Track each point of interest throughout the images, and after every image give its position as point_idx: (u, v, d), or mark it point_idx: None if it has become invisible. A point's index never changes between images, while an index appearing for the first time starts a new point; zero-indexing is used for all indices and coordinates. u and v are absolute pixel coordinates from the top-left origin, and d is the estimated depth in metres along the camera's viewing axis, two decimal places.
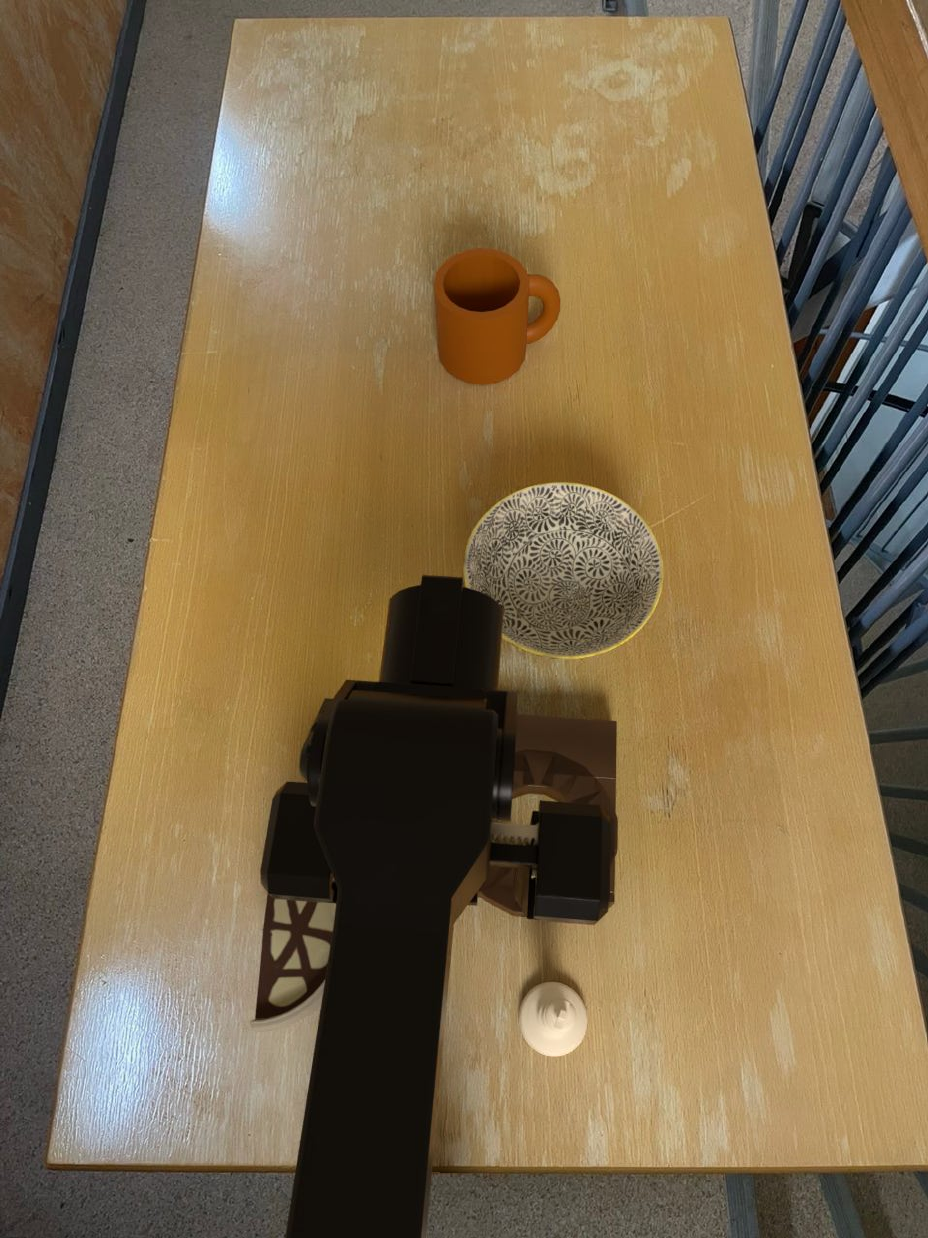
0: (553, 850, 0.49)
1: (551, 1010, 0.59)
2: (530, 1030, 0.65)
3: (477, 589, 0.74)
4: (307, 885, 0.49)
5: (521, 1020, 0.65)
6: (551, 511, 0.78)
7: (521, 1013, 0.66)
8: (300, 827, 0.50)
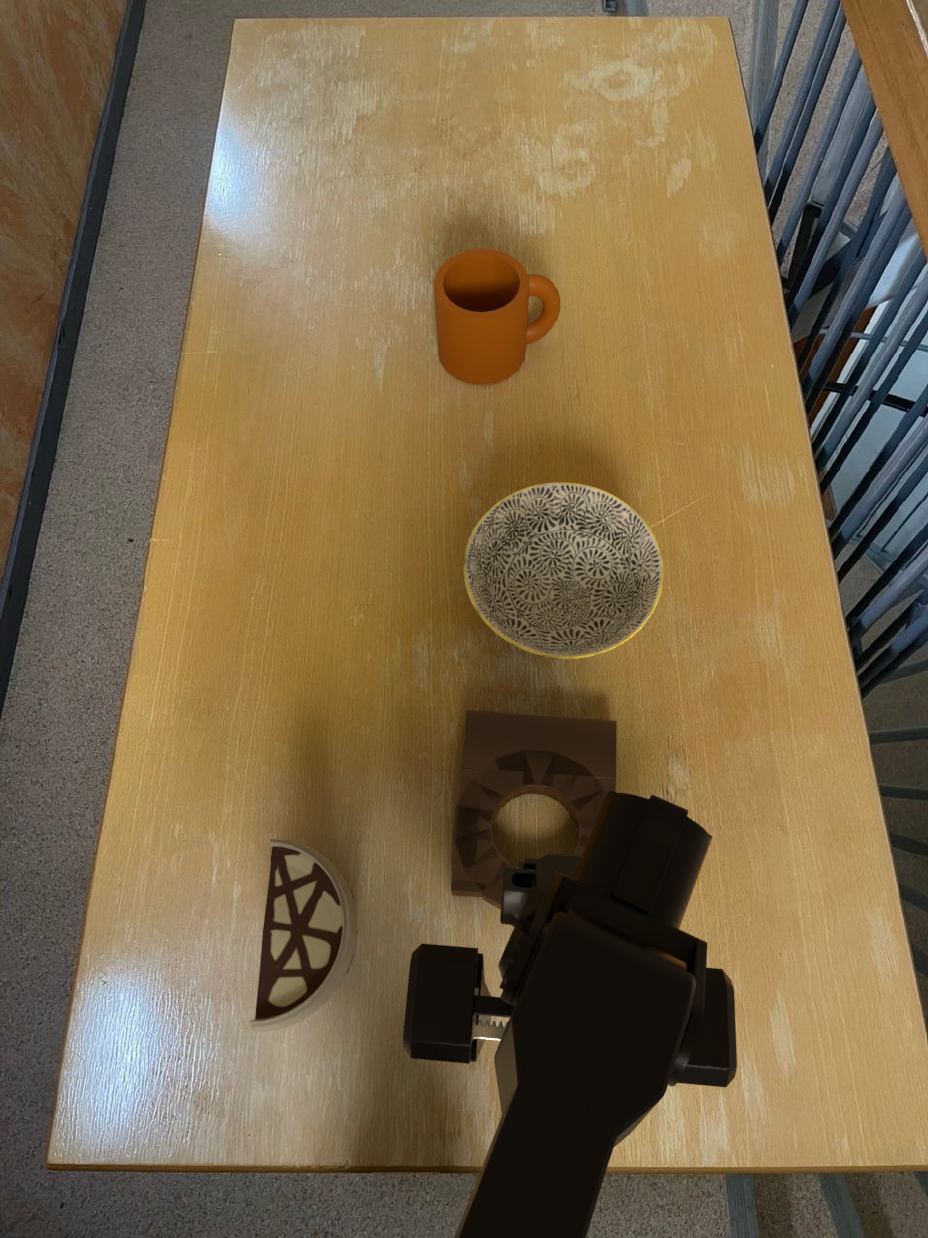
0: None
1: None
2: None
3: (477, 589, 0.74)
4: (449, 1051, 0.51)
5: None
6: (551, 511, 0.78)
7: None
8: (440, 993, 0.52)
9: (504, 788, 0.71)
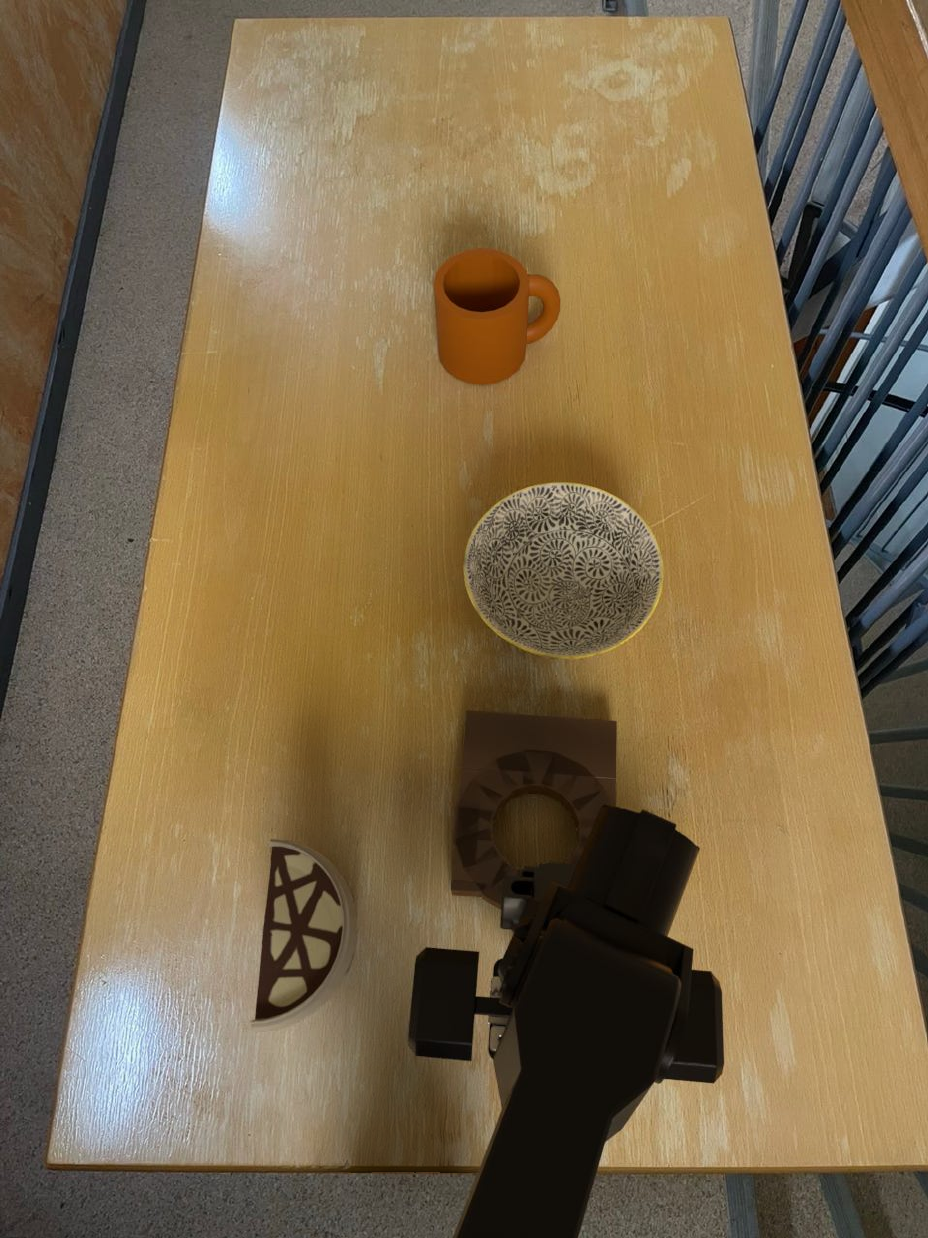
0: None
1: None
2: None
3: (477, 589, 0.74)
4: (451, 1049, 0.54)
5: None
6: (551, 511, 0.78)
7: None
8: (443, 994, 0.55)
9: (504, 788, 0.71)
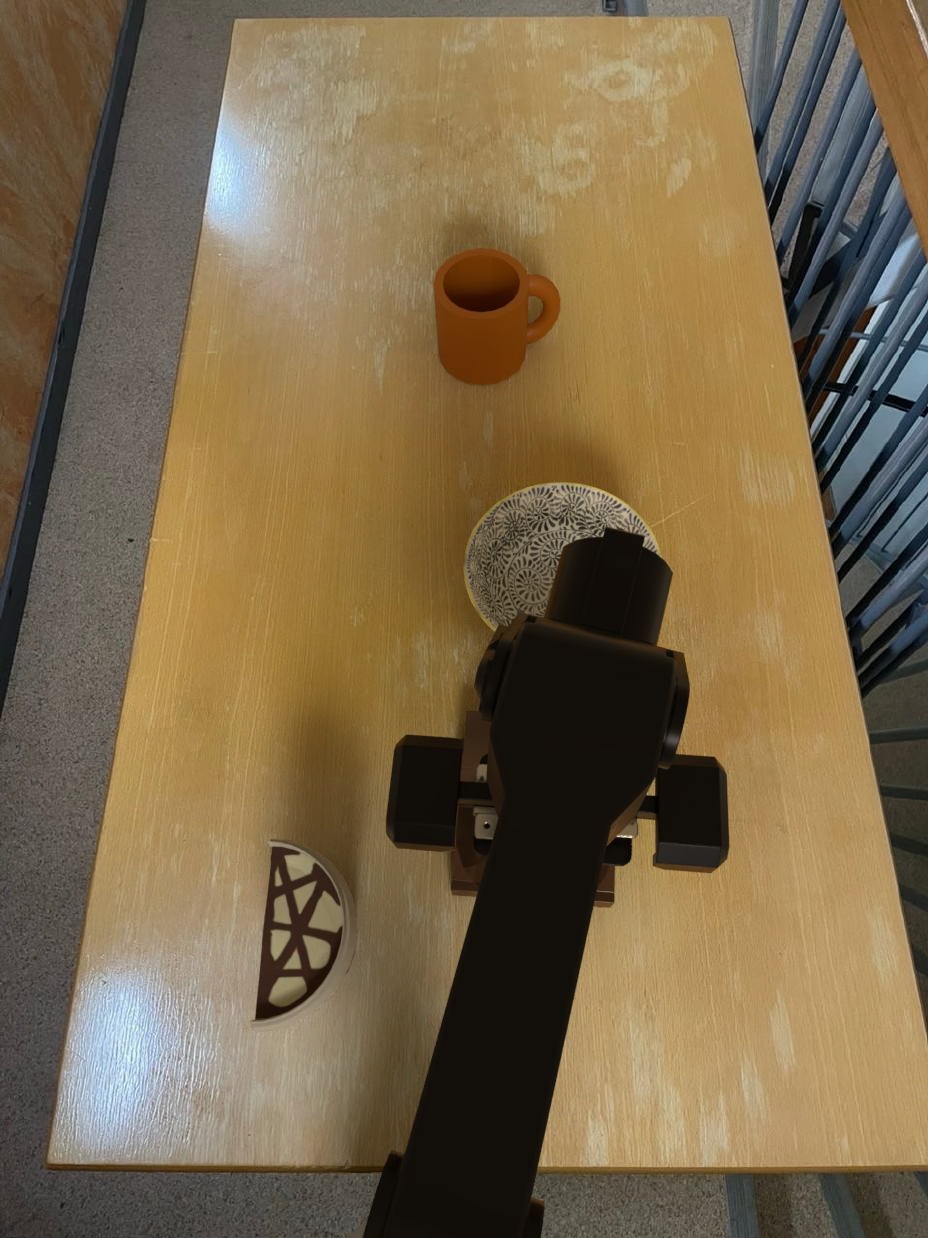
0: (673, 799, 0.50)
1: None
2: None
3: (477, 589, 0.74)
4: (433, 833, 0.50)
5: None
6: (551, 511, 0.78)
7: None
8: (424, 777, 0.51)
9: None
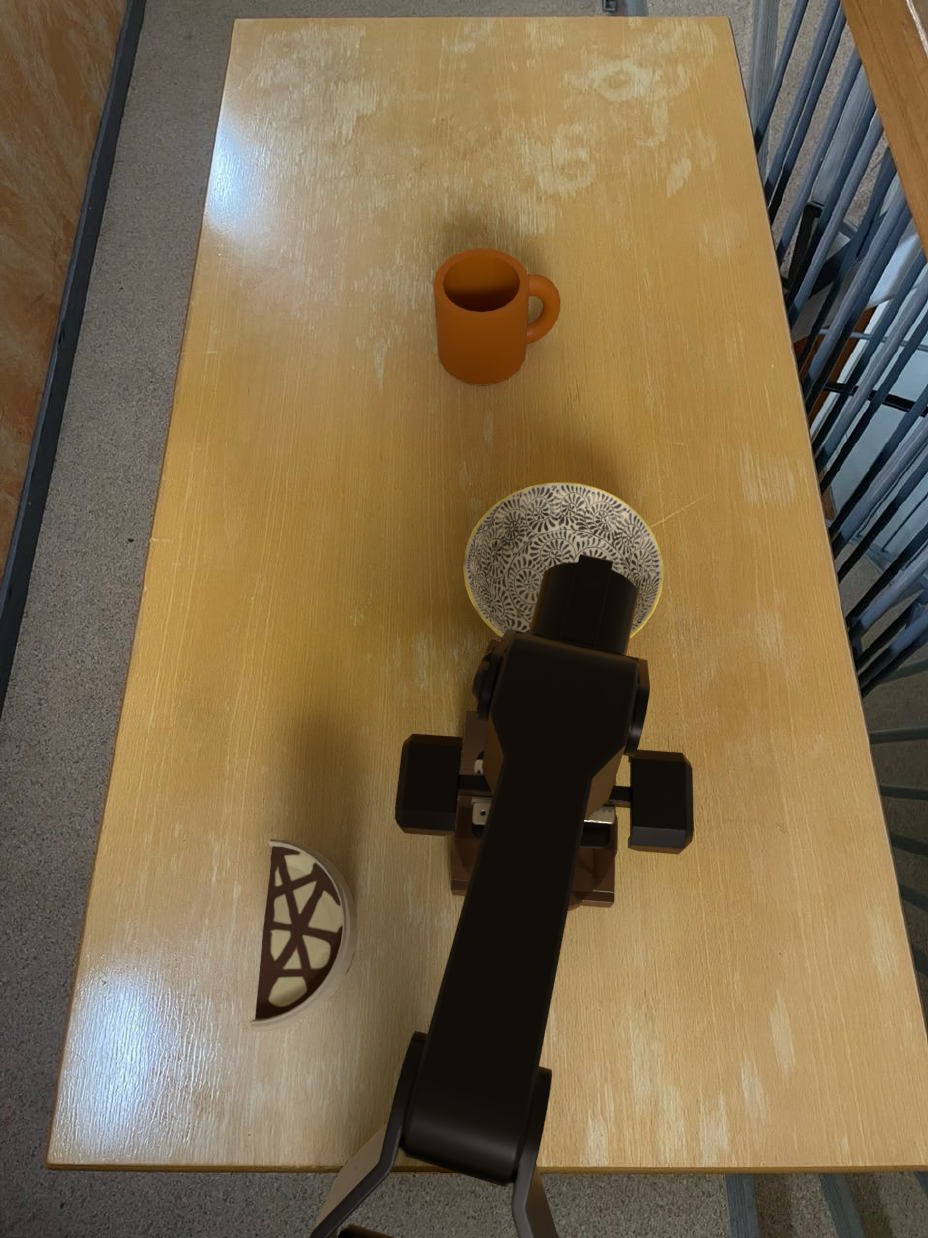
0: (645, 789, 0.57)
1: None
2: None
3: (477, 589, 0.74)
4: (436, 819, 0.57)
5: None
6: (551, 511, 0.78)
7: None
8: (428, 771, 0.58)
9: None
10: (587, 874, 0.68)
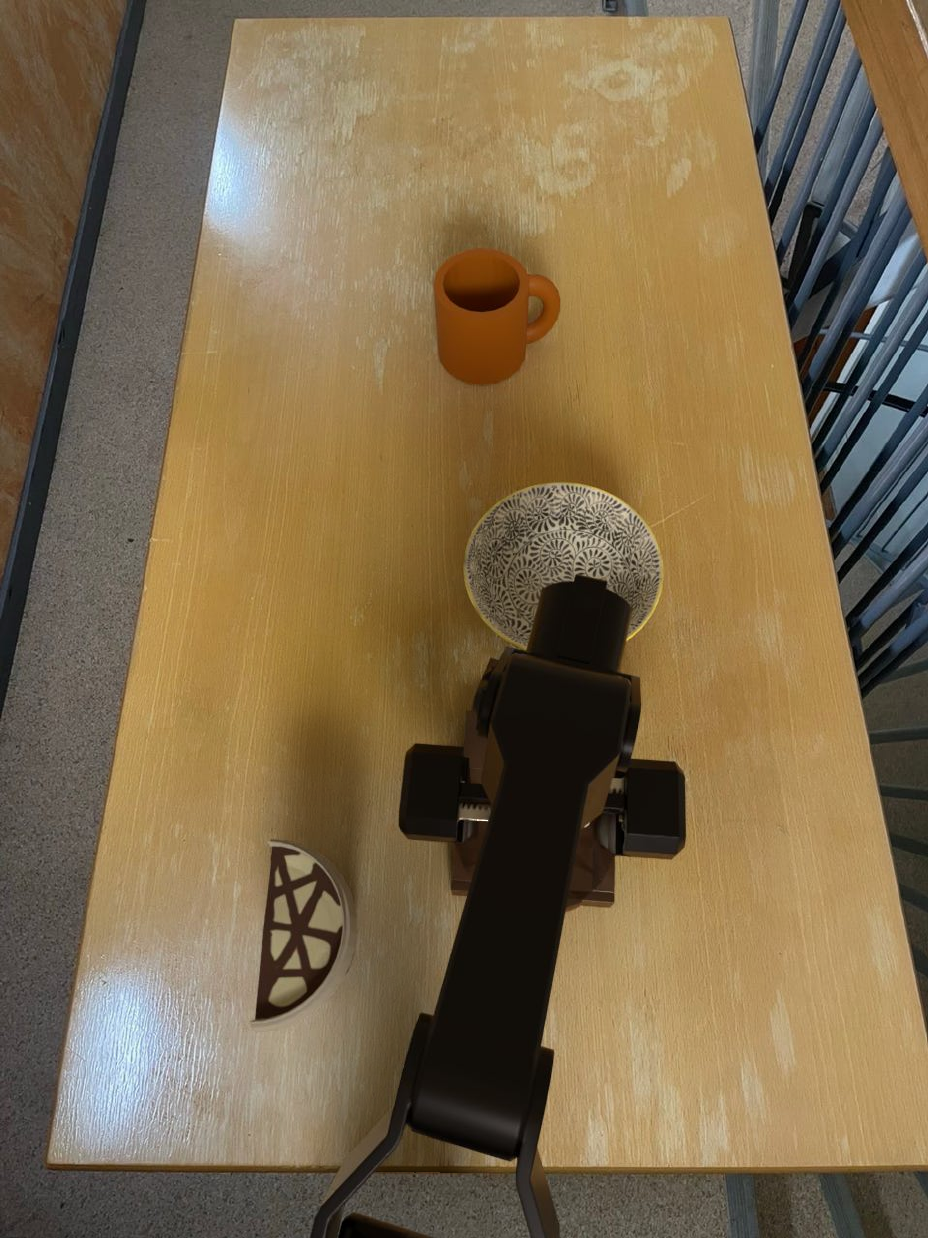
0: (639, 797, 0.60)
1: None
2: None
3: (477, 589, 0.74)
4: (438, 826, 0.60)
5: None
6: (551, 511, 0.78)
7: None
8: (430, 779, 0.60)
9: None
10: (587, 874, 0.68)
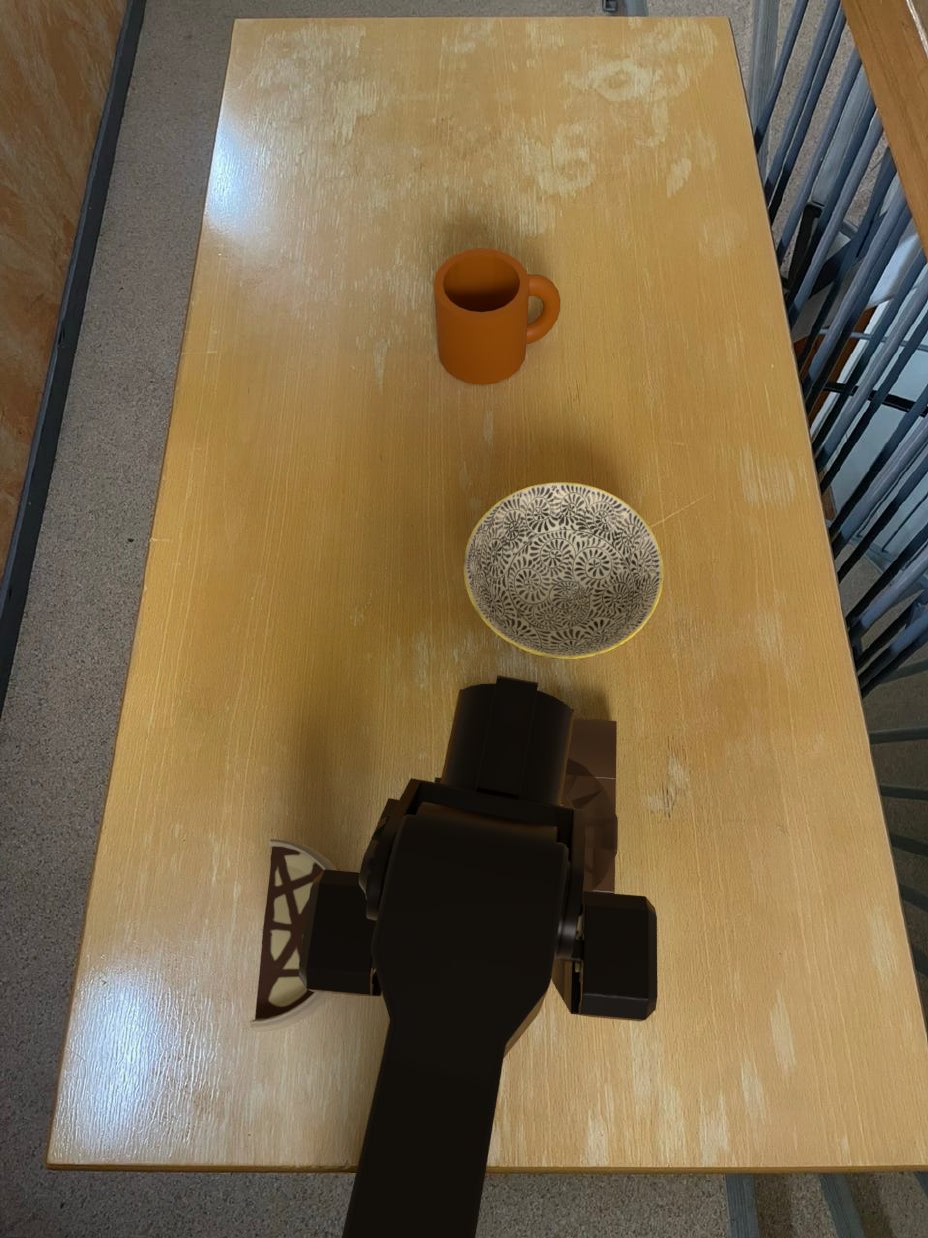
0: (599, 946, 0.48)
1: None
2: None
3: (477, 589, 0.74)
4: (347, 981, 0.48)
5: None
6: (551, 511, 0.78)
7: None
8: (340, 919, 0.49)
9: None
10: (587, 874, 0.68)
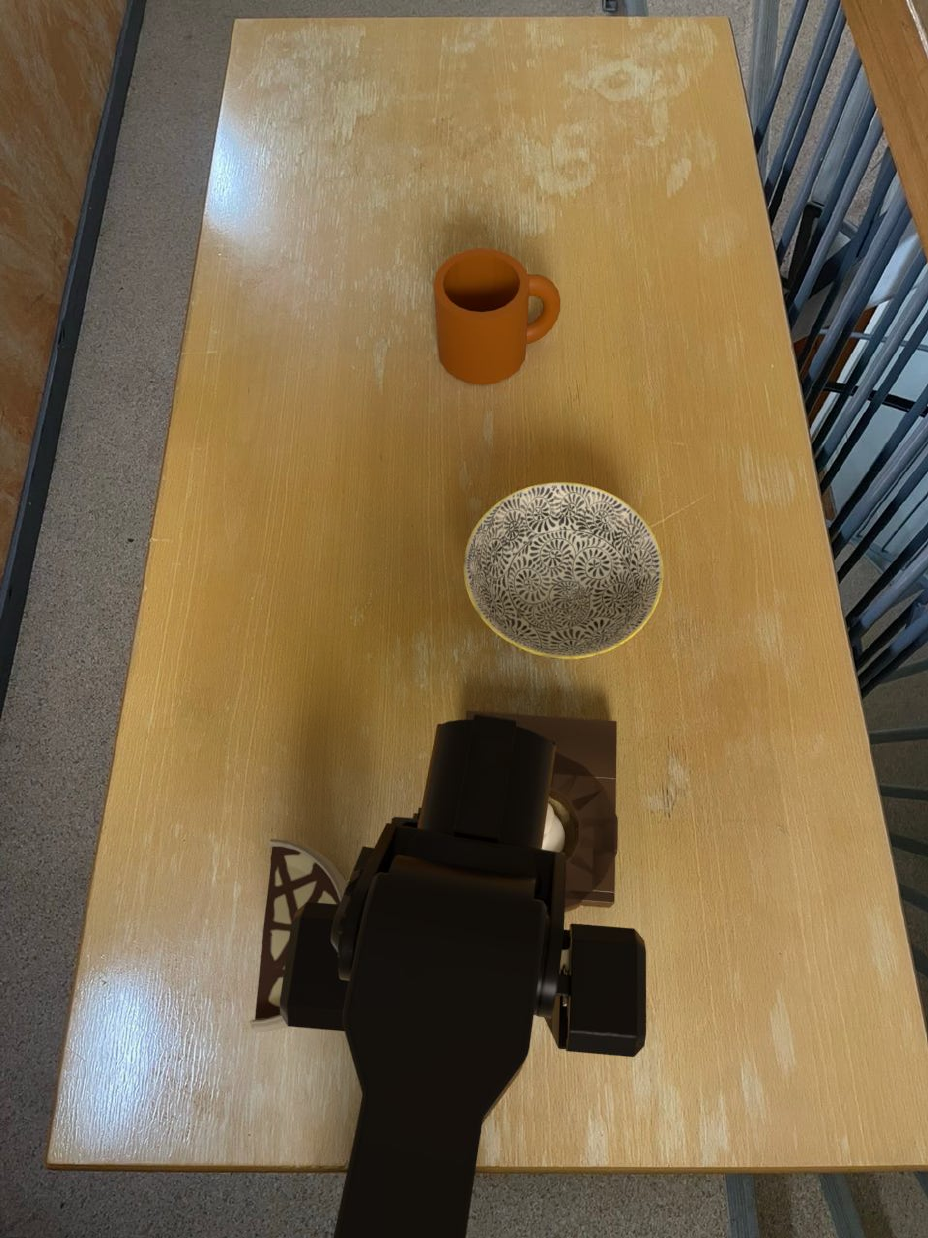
0: (586, 981, 0.47)
1: None
2: None
3: (477, 589, 0.74)
4: (329, 1018, 0.47)
5: None
6: (551, 511, 0.78)
7: None
8: (321, 955, 0.47)
9: None
10: (587, 874, 0.68)
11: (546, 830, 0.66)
